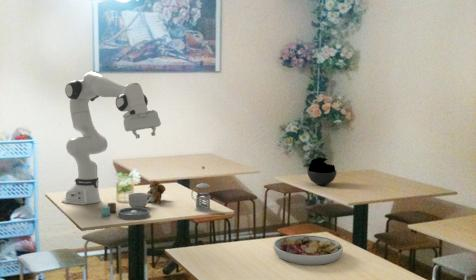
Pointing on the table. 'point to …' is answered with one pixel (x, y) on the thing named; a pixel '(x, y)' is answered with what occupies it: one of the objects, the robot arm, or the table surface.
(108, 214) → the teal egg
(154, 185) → the stuffed squirrel
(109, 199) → the table surface
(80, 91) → the robot arm
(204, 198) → the french press
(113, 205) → the walnut bead
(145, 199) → the teacup
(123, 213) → the groove tray
